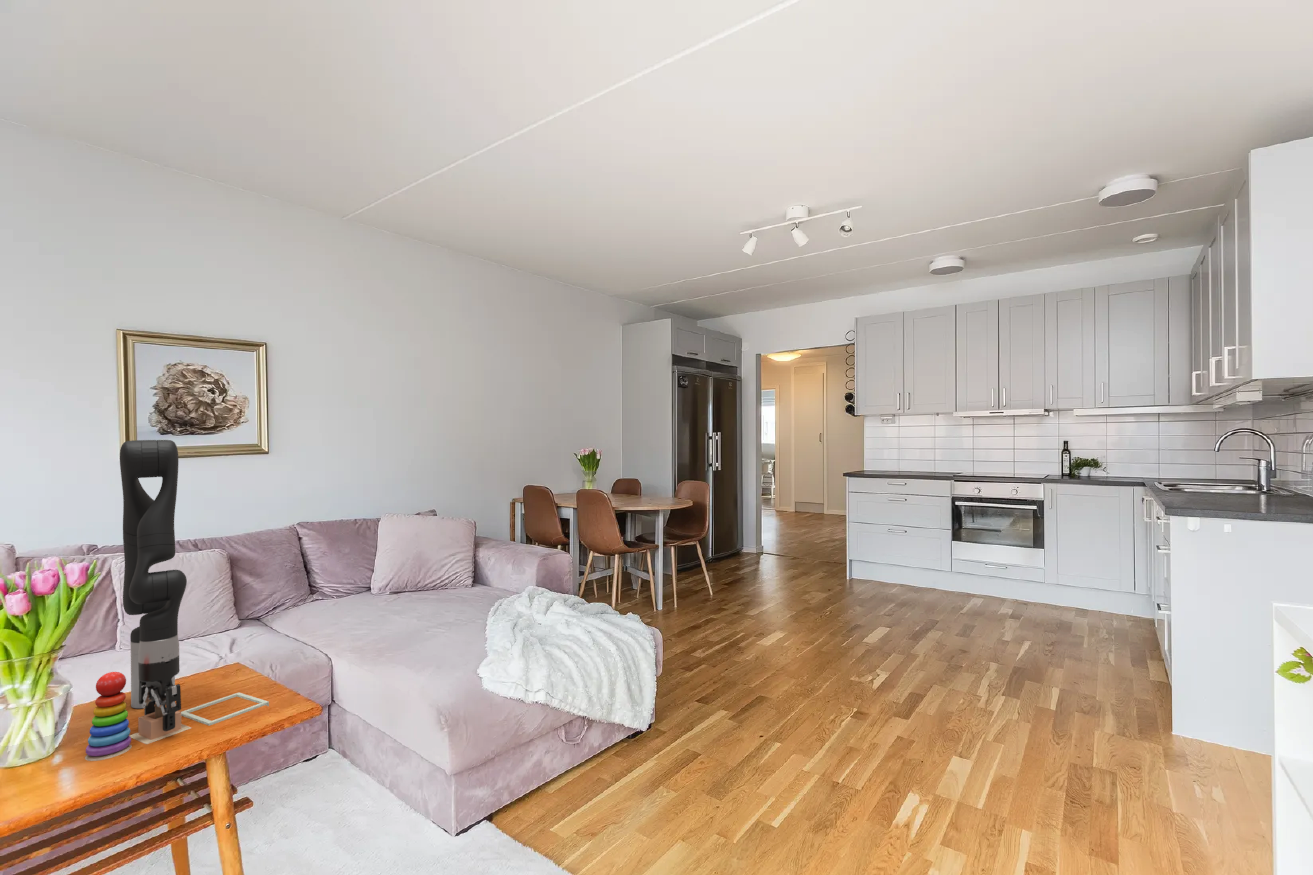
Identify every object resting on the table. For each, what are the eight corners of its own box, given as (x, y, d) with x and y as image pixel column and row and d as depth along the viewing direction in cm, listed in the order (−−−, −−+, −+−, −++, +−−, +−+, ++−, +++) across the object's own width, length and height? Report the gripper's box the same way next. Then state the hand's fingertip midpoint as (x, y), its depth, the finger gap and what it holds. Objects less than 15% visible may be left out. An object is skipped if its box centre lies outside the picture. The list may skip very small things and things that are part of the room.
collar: (138, 734, 144) (138, 717, 144) (173, 722, 151) (173, 705, 151) (151, 739, 142) (151, 722, 142) (186, 727, 148) (186, 710, 148)
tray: (179, 720, 155) (178, 712, 155) (238, 699, 167) (238, 692, 167) (209, 731, 148) (209, 723, 148) (269, 709, 161) (268, 701, 161)
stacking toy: (104, 769, 132) (103, 680, 132) (74, 766, 133) (73, 678, 133) (141, 751, 139) (141, 667, 140) (113, 748, 141) (112, 665, 141)
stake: (127, 742, 144) (127, 707, 144) (172, 726, 152) (172, 693, 152) (146, 750, 139) (146, 715, 140) (191, 733, 147) (191, 700, 148)
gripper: (125, 657, 146) (125, 727, 145) (155, 666, 139) (156, 738, 139) (162, 648, 152) (163, 714, 152) (193, 655, 146) (193, 725, 145)
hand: (159, 726), depth 145 cm, fingers open, 8 cm apart
